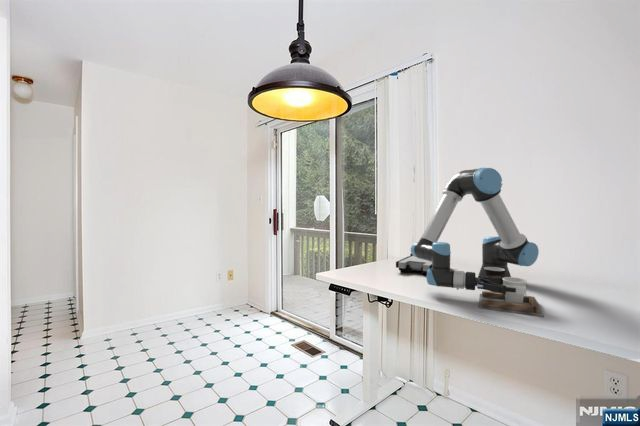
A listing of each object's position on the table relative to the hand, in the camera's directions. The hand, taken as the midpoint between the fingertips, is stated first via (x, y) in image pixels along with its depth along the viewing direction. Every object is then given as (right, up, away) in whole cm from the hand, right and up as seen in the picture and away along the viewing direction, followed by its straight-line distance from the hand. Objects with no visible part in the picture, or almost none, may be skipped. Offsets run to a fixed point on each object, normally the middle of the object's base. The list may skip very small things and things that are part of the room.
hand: (524, 286), depth 123 cm
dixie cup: (-3, -8, +2) cm, 9 cm away
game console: (-19, -6, +66) cm, 69 cm away
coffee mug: (+2, -7, +24) cm, 25 cm away
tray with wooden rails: (-5, -8, +3) cm, 10 cm away
